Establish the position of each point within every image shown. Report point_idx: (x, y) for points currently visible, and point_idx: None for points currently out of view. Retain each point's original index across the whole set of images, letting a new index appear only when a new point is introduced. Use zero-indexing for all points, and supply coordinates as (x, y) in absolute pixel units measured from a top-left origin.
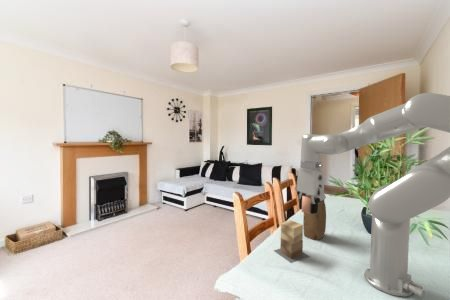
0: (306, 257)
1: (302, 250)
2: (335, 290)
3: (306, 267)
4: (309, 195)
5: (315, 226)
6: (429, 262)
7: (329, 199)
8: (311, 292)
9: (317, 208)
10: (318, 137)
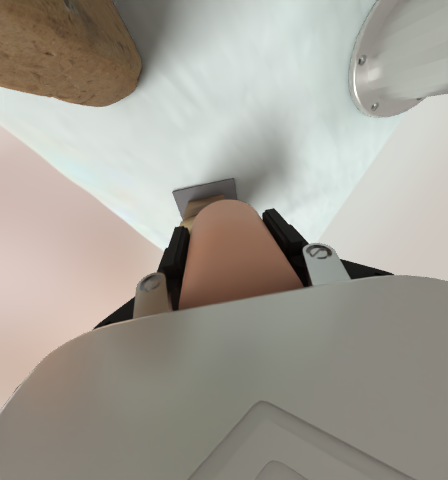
0: (234, 190)
1: (224, 198)
2: (331, 204)
3: (261, 210)
4: (198, 286)
5: (124, 68)
6: None
7: None
8: (312, 240)
9: (297, 233)
10: None
